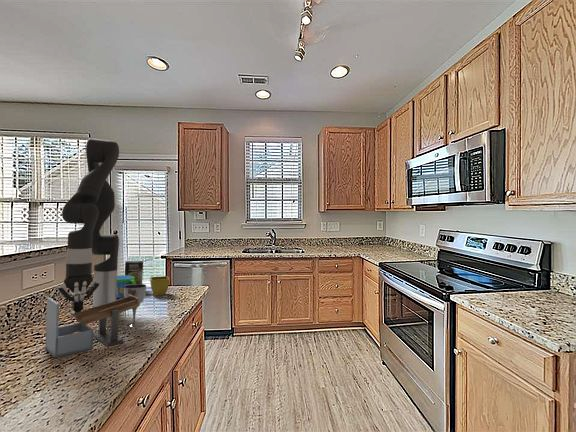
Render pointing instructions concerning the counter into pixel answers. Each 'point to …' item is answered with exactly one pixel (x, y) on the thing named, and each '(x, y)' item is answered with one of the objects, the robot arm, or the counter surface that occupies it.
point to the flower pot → (159, 285)
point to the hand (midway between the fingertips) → (77, 311)
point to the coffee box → (134, 270)
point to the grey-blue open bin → (65, 334)
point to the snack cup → (123, 284)
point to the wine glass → (138, 292)
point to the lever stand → (106, 335)
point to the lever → (105, 310)
